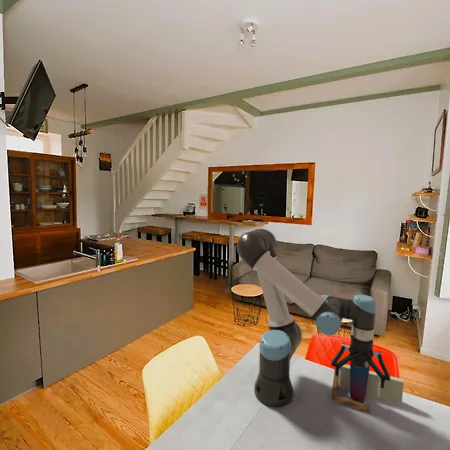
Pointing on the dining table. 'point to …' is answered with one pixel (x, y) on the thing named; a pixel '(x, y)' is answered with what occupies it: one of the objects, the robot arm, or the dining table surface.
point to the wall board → (389, 392)
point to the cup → (358, 380)
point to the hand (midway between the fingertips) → (358, 388)
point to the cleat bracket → (347, 401)
